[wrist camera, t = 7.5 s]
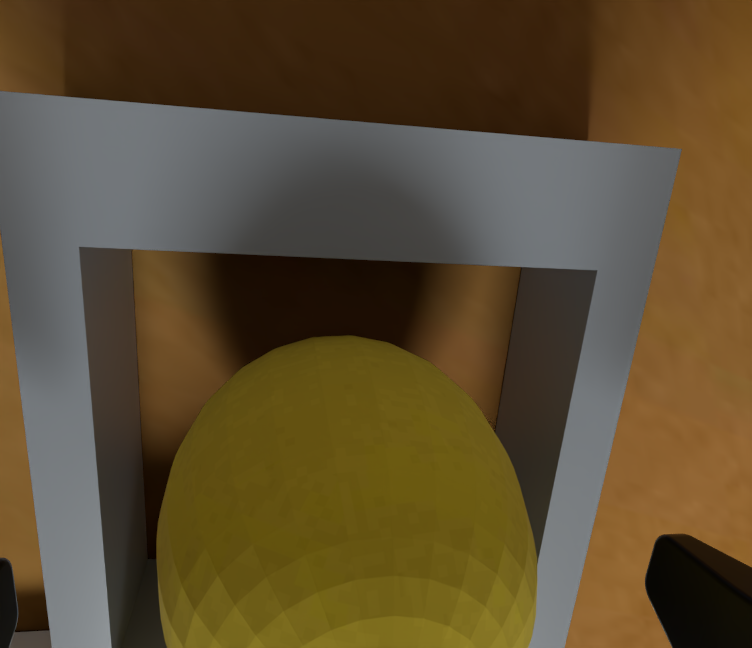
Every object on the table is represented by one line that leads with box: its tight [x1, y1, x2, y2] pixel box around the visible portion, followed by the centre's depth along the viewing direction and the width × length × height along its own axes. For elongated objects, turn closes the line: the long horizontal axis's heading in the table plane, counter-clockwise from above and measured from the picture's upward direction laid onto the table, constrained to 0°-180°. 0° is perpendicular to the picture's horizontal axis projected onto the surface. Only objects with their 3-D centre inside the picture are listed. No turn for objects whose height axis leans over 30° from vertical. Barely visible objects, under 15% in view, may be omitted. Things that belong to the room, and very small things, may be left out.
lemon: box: [156, 335, 537, 648], centre depth 9 cm, size 6×6×8 cm
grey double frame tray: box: [0, 91, 682, 648], centre depth 13 cm, size 21×10×3 cm, turn 175°
